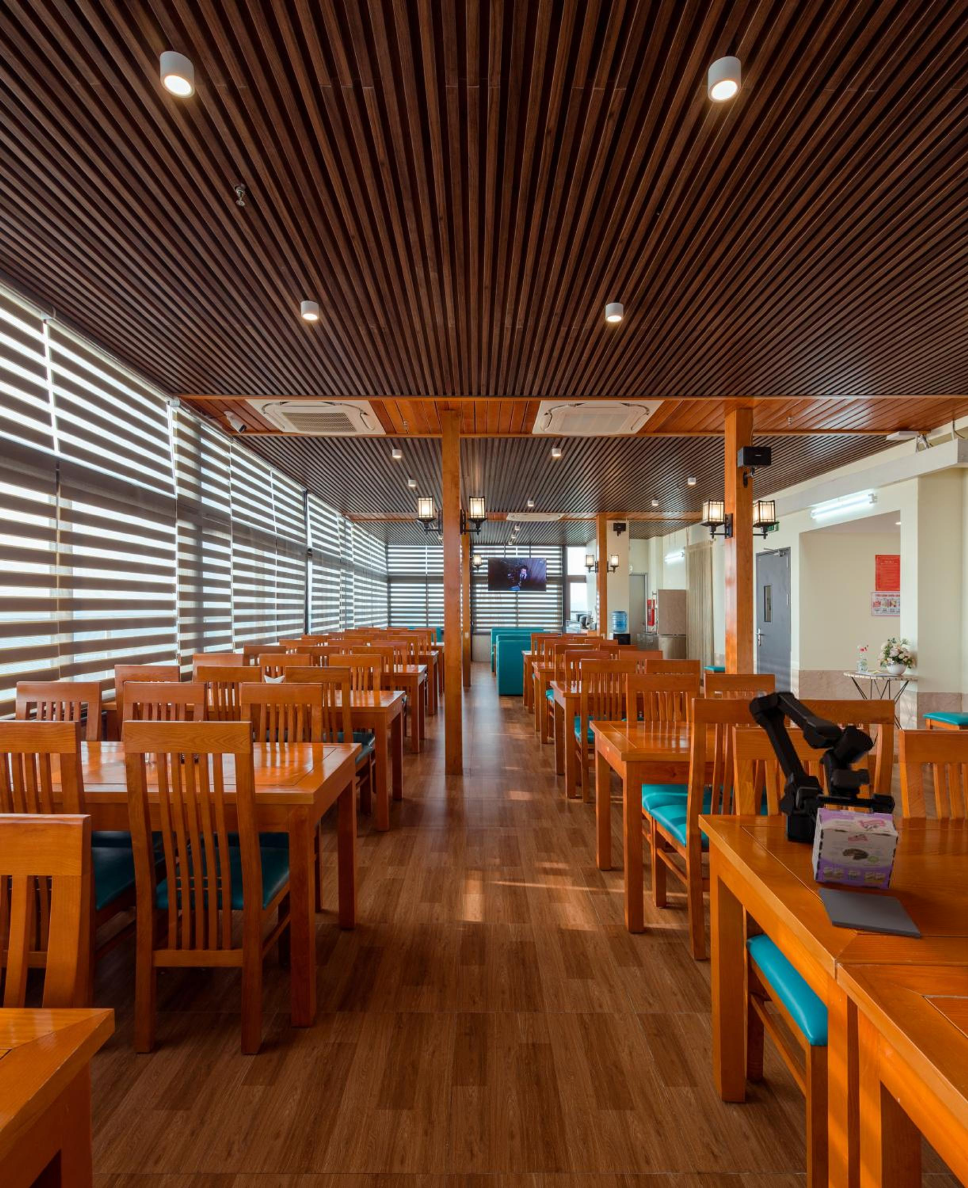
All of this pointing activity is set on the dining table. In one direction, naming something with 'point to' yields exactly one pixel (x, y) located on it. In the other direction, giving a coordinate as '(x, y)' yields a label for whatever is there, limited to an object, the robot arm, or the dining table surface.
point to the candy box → (854, 848)
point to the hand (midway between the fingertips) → (849, 838)
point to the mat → (867, 912)
